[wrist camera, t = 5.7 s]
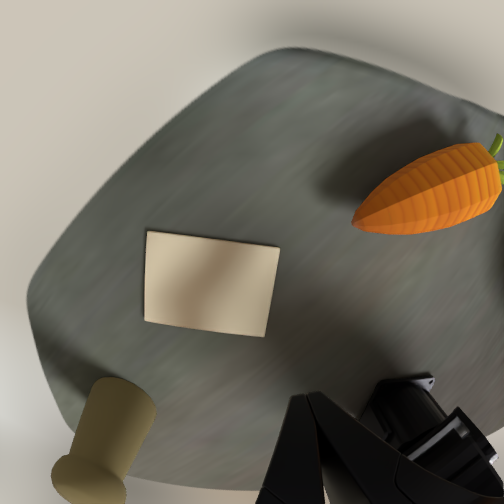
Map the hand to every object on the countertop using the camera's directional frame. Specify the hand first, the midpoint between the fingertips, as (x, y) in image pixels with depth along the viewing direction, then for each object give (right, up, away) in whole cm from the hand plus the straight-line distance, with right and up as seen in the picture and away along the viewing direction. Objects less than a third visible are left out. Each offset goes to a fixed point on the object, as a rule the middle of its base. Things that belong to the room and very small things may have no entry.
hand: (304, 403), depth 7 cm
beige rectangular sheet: (-4, +2, +11) cm, 12 cm away
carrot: (+4, +6, +8) cm, 10 cm away
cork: (-12, -8, +13) cm, 20 cm away
